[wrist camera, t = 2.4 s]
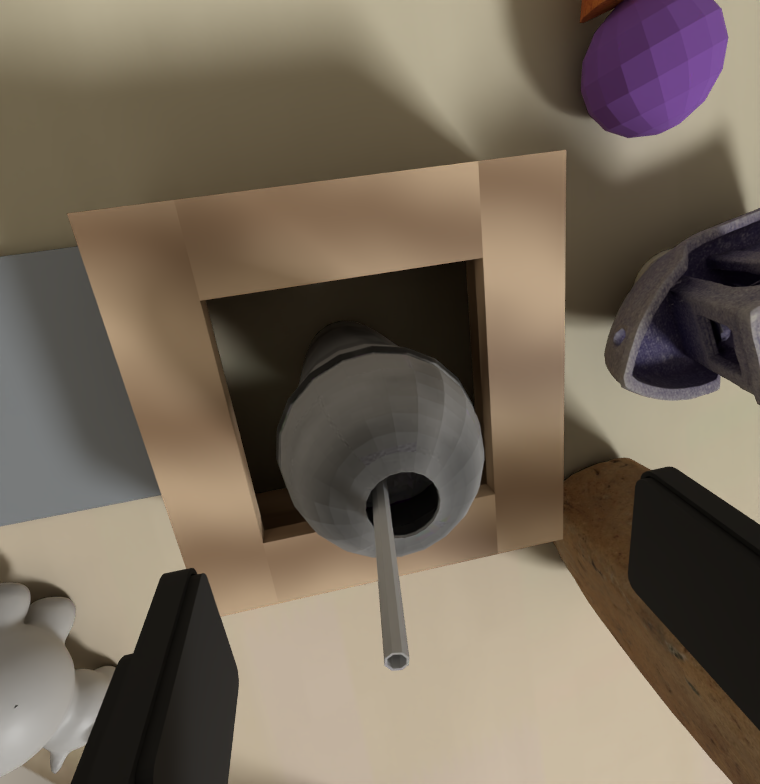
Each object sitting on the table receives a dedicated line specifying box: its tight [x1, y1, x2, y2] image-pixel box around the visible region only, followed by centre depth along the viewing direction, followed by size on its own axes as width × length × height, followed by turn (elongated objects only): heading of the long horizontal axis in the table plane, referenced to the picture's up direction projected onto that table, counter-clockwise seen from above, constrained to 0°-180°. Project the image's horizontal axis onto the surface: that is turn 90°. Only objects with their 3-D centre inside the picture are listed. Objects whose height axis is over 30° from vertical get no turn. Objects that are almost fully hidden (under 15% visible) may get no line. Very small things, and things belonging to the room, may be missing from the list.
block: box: [553, 458, 760, 784], centre depth 26 cm, size 11×8×20 cm
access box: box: [67, 150, 566, 617], centre depth 24 cm, size 18×18×8 cm
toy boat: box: [604, 208, 760, 405], centre depth 24 cm, size 15×8×13 cm, turn 118°
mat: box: [0, 246, 161, 526], centre depth 25 cm, size 14×14×1 cm
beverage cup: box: [276, 321, 484, 670], centre depth 18 cm, size 7×7×20 cm
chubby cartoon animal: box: [0, 582, 116, 777], centre depth 28 cm, size 7×12×8 cm, turn 30°
